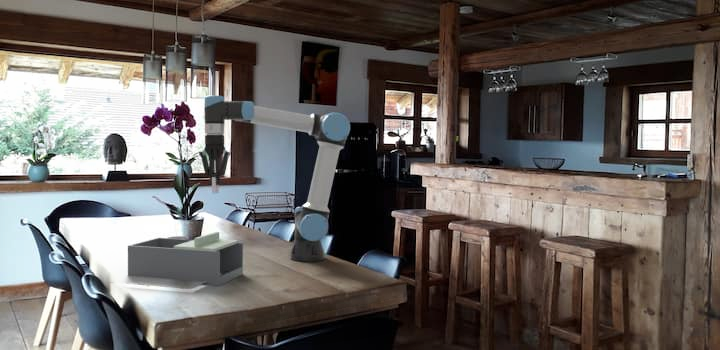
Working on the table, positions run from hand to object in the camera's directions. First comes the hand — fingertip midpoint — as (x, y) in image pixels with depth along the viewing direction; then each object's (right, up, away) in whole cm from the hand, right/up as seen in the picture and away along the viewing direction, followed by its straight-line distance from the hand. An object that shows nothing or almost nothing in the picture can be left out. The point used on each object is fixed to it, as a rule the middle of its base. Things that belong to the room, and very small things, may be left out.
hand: (215, 193), depth 237 cm
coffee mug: (-20, -29, +12) cm, 38 cm away
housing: (-7, -31, -16) cm, 35 cm away
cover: (+1, -19, -18) cm, 26 cm away
